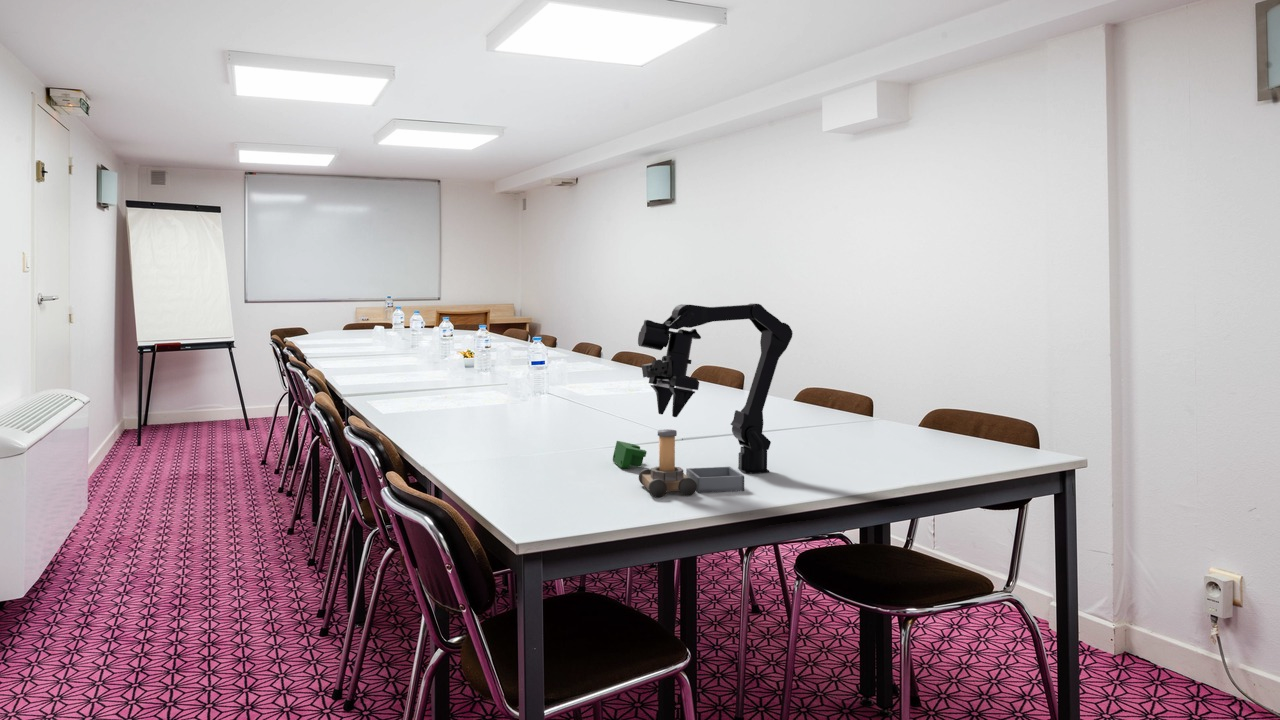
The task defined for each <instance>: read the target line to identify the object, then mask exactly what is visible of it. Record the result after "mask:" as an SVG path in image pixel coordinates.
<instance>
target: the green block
mask: <svg viewBox="0 0 1280 720" xmlns="http://www.w3.org/2000/svg"><path fill="white" fill-rule="evenodd" d="M645 457H647V451H646V450H645V449H641V446H639V445H638V444H634V443H630V442H626V441H620V440H616V443H615V446H614V452H613V456H612V462H613V463H614V464H615V465H616V466H618V467H619V468H621V469H626V470H629V469H630V466H633V467H638V466H641V467H642V466H643V460H644V458H645Z"/></svg>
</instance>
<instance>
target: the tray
mask: <svg viewBox="0 0 1280 720" xmlns="http://www.w3.org/2000/svg"><path fill="white" fill-rule="evenodd" d="M685 473H686V474H685V475H686V476H687V477H689V478H691V479H693V480H694V481H695V482H696V484H697V489H696V492H697V494H709V493H727V492H728V493H729V492H730V491H732V492H745V475H744V474H742V473H741V472H739V471H737V470H736V469H734V468H733V467H731V466H715V467H714V466H713V467H690V468H686V472H685Z"/></svg>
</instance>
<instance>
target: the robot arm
mask: <svg viewBox="0 0 1280 720" xmlns="http://www.w3.org/2000/svg"><path fill="white" fill-rule="evenodd" d="M737 320H739V321H740V320H742V321H743V320H750V321H751V323H752V324H753V326H754V327H755V328H756V330H758V332H759V333H760V334H761V335H760V341H759V342H760V356H759V360H758V362H757V367H756V370H755V372H754V376H753V379H752V383H751V386H750V389H749V392H748V396H747V398H746V403H745V405H744V406H743V408H741V410H740V411H739V410H738V409H737V410H735V411H734V414H733V420H732V421H731V423H730V425H731V426H732V427H731V434H732V435H733V437H735V439H737V442H738V444H739V446H740V452H738V464H737V465H738V467H737V470H740V471H741V472H742V473H744V474H764V473H766V474H767V473H770V469H768V451H769V450H770V446H771V443H772V441H770V439H768V437H767V436H766V435H764V433H763V429H764V415H763V413H764V412H763V411H764V408H765V404H766V401H767V397H768V394H769V390H770V388H771V384H772V382H773V378H774V375H775V372H776V368H777V365H778V363H779V360H780V358H781V357H782V355H783V354H784V352H785V351H786V350H787V349H788V347H789V344H790V342H791V341H792V338H793V334H794V333H793V330H792V328H791V326H790V325H789V324H788V323H786V322H783V321H782V322H781V320H780V319H778V317H776V316H774V314H772V313H771V312H770V311H768V310H767V309H766V308H764V306H763V305H762V304H760V303H749V304H741V305H740V304H739V305H737V304H736V305H723V306H702V305H696V304H695V305H694V304H683V303H682V304H678V305H676V306H675V307H673V309H672V312H671V315H670V316H669V317H668V318H667V319H665V321H663V322H662V323H660V322H656V321H653V320H649V319H644V321H643V324H642V326H641V328H640V330H639V332H638V336H637V338H638V339H637V344H638V346H639V347H642V348H647V349H652V350H657V351H662V350H663V349H664V348H667V350H666V354H665V355H663V356H662V357H661V359H657V360H652V362H650V363H645V364H641V371H642V377H643V378H648V384H650V387H651V388H652V389H653V390H654V392H655V395H656V402H657V410H658V412H657V413H658V414H659V415H663V414H664V413H665V411H666V410H667V407H668V405H669V404H670V401H671V399H672V407H671V408H672V410H671V411H672V413H671V414H672V417H673V418H678V416H679V414H680V413H681V412H682V410H683V409H684V407H685V406H686V405H687V403H688V402H689V401H690V399H691V398H692V396H693V395H695V394H696V391H699V388H700V387H699V386H700V382H699V380H698V378H696V377H693V376H692V377H691V376H688V375H687V372H688V366H689V365H691V364H692V362H693V361H692V359H690V354H691V348H692V343H693V340H701V339H702V336H701V334H699V333H698V331H697V329H696V328H695V327H699V326H702V325H705V324H708V323H712V322H724V321H725V322H727V321H737ZM683 328H692V329H691V330H686V329H683ZM672 330H678V331H677V332H676V331H672ZM651 384H652V385H651Z"/></svg>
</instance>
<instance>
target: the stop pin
mask: <svg viewBox="0 0 1280 720" xmlns="http://www.w3.org/2000/svg"><path fill="white" fill-rule="evenodd" d="M677 433H678V432H677V430H675V429H658V430H657V437H658V441H659V444H658V447H659V448H658V449H659V451H658V453H659V459H658V466H659V471H663V472H672V471H675V467H676V462H675V461H676V450H675V449H676V436H678V435H677Z"/></svg>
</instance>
